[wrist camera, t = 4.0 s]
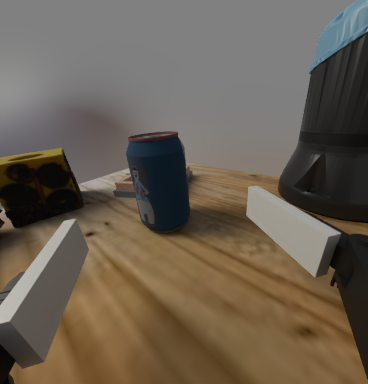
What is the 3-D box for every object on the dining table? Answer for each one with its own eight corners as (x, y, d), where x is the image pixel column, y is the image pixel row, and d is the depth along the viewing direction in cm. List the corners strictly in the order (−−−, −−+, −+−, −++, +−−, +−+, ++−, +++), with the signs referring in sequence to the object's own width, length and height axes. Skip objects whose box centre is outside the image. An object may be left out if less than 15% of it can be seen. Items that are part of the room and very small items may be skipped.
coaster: (192, 175, 42) (191, 164, 41) (175, 199, 31) (173, 186, 29) (145, 174, 46) (143, 165, 44) (114, 196, 34) (111, 183, 33)
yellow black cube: (80, 191, 39) (64, 147, 35) (85, 207, 31) (65, 153, 27) (24, 206, 34) (-3, 157, 30) (13, 230, 26) (-26, 167, 22)
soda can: (191, 208, 27) (185, 129, 22) (189, 236, 21) (179, 135, 16) (149, 209, 28) (134, 133, 23) (135, 236, 22) (110, 141, 17)
